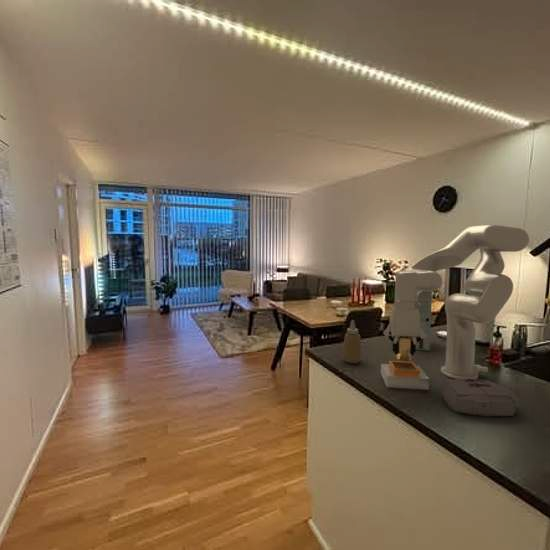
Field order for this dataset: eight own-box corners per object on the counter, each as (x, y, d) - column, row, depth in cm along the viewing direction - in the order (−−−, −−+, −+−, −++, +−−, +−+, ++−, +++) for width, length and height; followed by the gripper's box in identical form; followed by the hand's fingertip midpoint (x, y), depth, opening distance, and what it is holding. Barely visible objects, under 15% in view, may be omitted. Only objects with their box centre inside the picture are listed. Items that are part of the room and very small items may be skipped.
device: (407, 339, 166) (409, 284, 163) (423, 340, 164) (425, 284, 161) (412, 349, 150) (414, 288, 147) (429, 350, 148) (432, 288, 145)
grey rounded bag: (455, 418, 90) (531, 422, 87) (457, 390, 89) (533, 394, 87) (435, 394, 105) (499, 397, 102) (436, 370, 104) (500, 372, 102)
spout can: (412, 361, 111) (413, 337, 110) (397, 360, 112) (398, 336, 111) (407, 355, 117) (408, 332, 116) (394, 354, 118) (394, 331, 117)
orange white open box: (418, 375, 119) (419, 360, 119) (428, 389, 107) (429, 373, 107) (380, 373, 121) (381, 358, 121) (386, 387, 110) (387, 370, 109)
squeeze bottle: (362, 365, 130) (363, 323, 128) (342, 364, 132) (343, 322, 130) (361, 358, 138) (361, 319, 136) (342, 357, 140) (343, 318, 138)
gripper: (427, 303, 114) (425, 351, 116) (379, 302, 117) (377, 349, 118) (434, 307, 107) (431, 358, 108) (383, 306, 110) (381, 355, 111)
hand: (403, 353), depth 113 cm, fingers closed on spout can, 5 cm apart
